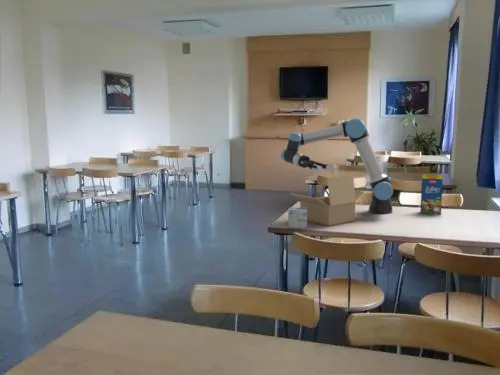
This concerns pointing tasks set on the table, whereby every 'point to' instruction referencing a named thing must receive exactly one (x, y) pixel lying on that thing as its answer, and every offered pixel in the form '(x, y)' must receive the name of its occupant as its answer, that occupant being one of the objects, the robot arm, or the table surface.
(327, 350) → the table surface
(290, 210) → the light bulb box
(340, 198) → the carton flap
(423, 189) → the blue food package
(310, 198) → the carton
